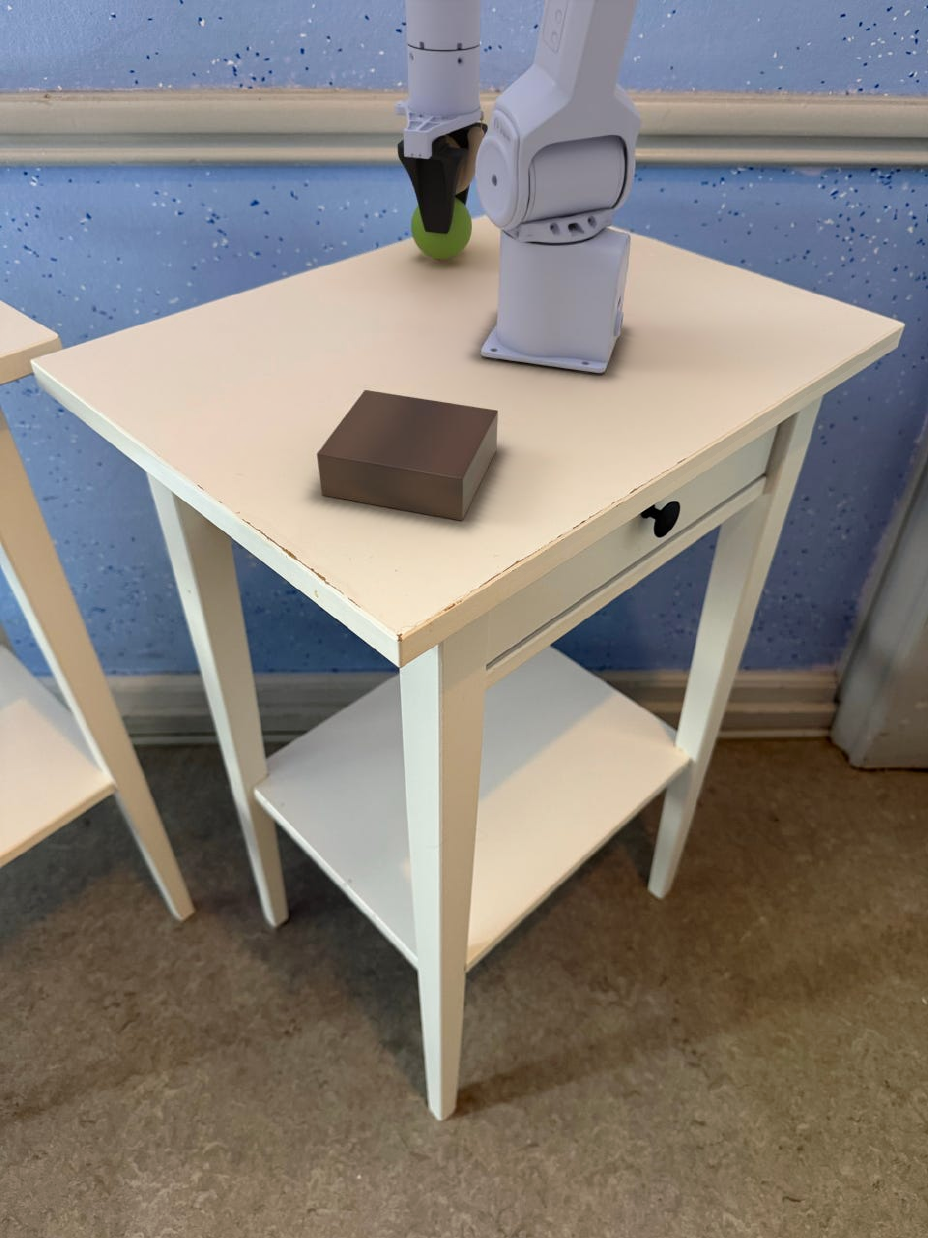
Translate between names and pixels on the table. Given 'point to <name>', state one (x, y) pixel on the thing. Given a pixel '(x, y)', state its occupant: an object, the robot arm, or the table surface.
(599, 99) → the robot arm
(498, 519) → the table surface
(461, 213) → the snail figurine
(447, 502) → the walnut block
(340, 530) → the table surface
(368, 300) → the table surface
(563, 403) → the table surface
